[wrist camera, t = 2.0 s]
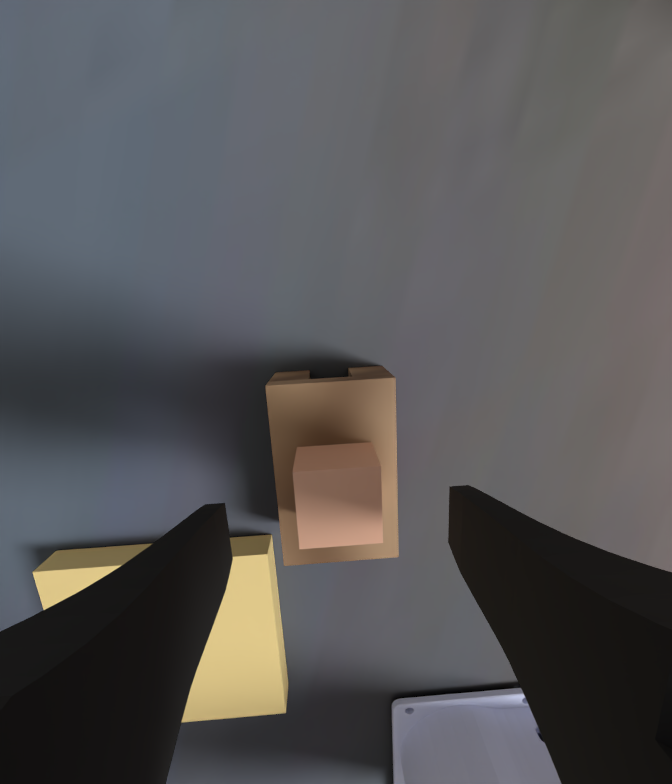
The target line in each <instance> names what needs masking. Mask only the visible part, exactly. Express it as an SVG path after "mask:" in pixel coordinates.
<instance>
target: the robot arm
mask: <svg viewBox="0 0 672 784" xmlns="http://www.w3.org/2000/svg"><path fill="white" fill-rule="evenodd" d="M448 542H449V545H450V548H451V550H452V553H453V555H454V558H455V560H456V563H457V565H458V568H459V570H460V572H461V574H462V576H463V578H464V580H465V582H466V583H467V585H468V587H469V589H470V591H471V593H472V594H473V596H474V598H475V600H476V602H477V603H478V605H479V607H480V609H481V610H482V612H483V614H484V616H485V618H486V619H487V621H488V623H489V625H490V627H491V628H492V630H493V632H494V634H495V635H496V637H497V639H498V641H499V643H500V645H501V646H502V648H503V650H504V652H505V654H506V656H507V658H508V660H509V662H510V664H511V667H512V669H513V671H514V673H515V676H516V678H517V680H518V682H519V685H520V687H521V688H512V689H500V690H489V691H478V692H467V693H455V694H444V695H433V696H422V697H410V698H399V699H396V700H395V701H394V702H393V703H392V745H393V784H672V572H668V571H665V570H661V569H658V568H655V567H652V566H649V565H646V564H643V563H640V562H637V561H634V560H631V559H627V558H624V557H621V556H619V555H616V554H613V553H610V552H608V551H605V550H602V549H600V548H597V547H595V546H592V545H590V544H587V543H585V542H582V541H580V540H577V539H575V538H573V537H570V536H568V535H566V534H563V533H561V532H559V531H557V530H555V529H553V528H551V527H549V526H546V525H544V524H542V523H540V522H538V521H536V520H534V519H532V518H530V517H528V516H526V515H524V514H522V513H521V512H519V511H517V510H515V509H513V508H511V507H509V506H508V505H506V504H504V503H502V502H500V501H498V500H496V499H495V498H493V497H491V496H489V495H487V494H485V493H483V492H482V491H480V490H478V489H476V488H474V487H471V486H469V485H466V486H452V487H450V495H449V538H448ZM232 561H233V556H232V549H231V542H230V535H229V529H228V522H227V515H226V508H225V503H219V504H205V505H204V506H202V507H201V508H199V509H198V510H197V511H195V512H194V513H192V514H191V515H190V516H189V517H187V518H186V519H185V520H183V521H182V522H181V523H179V524H178V525H177V526H176V527H174V528H173V529H172V530H170V531H169V532H168V533H166V534H165V535H164V536H162V537H161V538H160V539H158V540H157V541H156V542H154V543H153V544H152V545H150V546H149V547H147V548H146V549H144V550H143V551H142V552H140V553H139V554H137V555H136V556H135V557H133V558H132V559H130V560H129V561H127V562H126V563H125V564H123V565H122V566H120V567H119V568H117V569H115V570H114V571H112V572H111V573H109V574H108V575H106V576H104V577H103V578H101V579H99V580H98V581H96V582H94V583H93V584H91V585H89V586H88V587H86V588H84V589H83V590H81V591H79V592H77V593H76V594H74V595H72V596H70V597H68V598H66V599H64V600H62V601H60V602H59V603H57V604H55V605H53V606H51V607H49V608H47V609H45V610H43V611H41V612H40V613H38V614H36V615H34V616H32V617H30V618H28V619H26V620H24V621H22V622H20V623H17V624H15V625H13V626H11V627H9V628H7V629H5V630H3V631H1V632H0V784H166V780H167V776H168V772H169V768H170V764H171V760H172V756H173V752H174V749H175V745H176V741H177V737H178V733H179V729H180V726H181V722H182V718H183V715H184V711H185V707H186V704H187V700H188V696H189V693H190V689H191V686H192V683H193V680H194V677H195V674H196V671H197V668H198V665H199V662H200V660H201V657H202V654H203V652H204V649H205V646H206V643H207V641H208V638H209V635H210V633H211V630H212V627H213V624H214V622H215V619H216V616H217V614H218V611H219V608H220V605H221V602H222V600H223V597H224V594H225V591H226V587H227V583H228V579H229V575H230V570H231V565H232Z"/></svg>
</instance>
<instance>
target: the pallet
mask: <svg viewBox="0 0 672 784" xmlns="http://www.w3.org/2000/svg"><path fill="white" fill-rule="evenodd" d="M348 376H349V377H336V378H320V379H310V370H306V371H290V372H275V374H274V375H273V376H272V378H271V379H270V380H269V382H268V383H267V384H266V386H265V388H266V398H267V407H268V417H269V427H270V436H271V446H272V455H273V465H274V474H275V484H276V493H277V503H278V512H279V522H280V532H281V541H282V551H283V560H284V566H289V565H302V564H315V563H328V562H341V561H354V560H367V559H380V558H393V557H398V499H397V439H396V380H395V377H394V376H393V375H392V374H391V373H390V372H388V371H387V370H386V369H385V368H384V367H383V366H371V367H354V368H348ZM365 442H372V444H373V446H374V449H375V452H376V454H377V457H378V459H379V462H380V465H381V483H382V519H383V543H377V544H364V545H351V546H338V547H325V548H311V549H299V538H298V527H297V516H296V505H295V494H294V483H293V466H294V461H295V455H296V450H297V447H306V446H321V445H336V444H351V443H365Z"/></svg>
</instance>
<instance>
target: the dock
mask: <svg viewBox="0 0 672 784" xmlns="http://www.w3.org/2000/svg"><path fill="white" fill-rule="evenodd" d="M230 542H231V549H232V556H233V561H232V565H231V570H230V575H229V579H228V583H227V587H226V591H225V594H224V597H223V600H222V602H221V605H220V608H219V611H218V614H217V616H216V619H215V622H214V624H213V627H212V630H211V633H210V635H209V638H208V641H207V643H206V646H205V649H204V652H203V654H202V657H201V660H200V662H199V665H198V668H197V671H196V674H195V677H194V680H193V683H192V686H191V689H190V693H189V696H188V700H187V704H186V707H185V711H184V715H183V718H182V722H192V721H203V720H215V719H226V718H237V717H248V716H259V715H271V714H282V713H286V707H287V695H288V675H287V666H286V657H285V648H284V640H283V631H282V622H281V613H280V604H279V595H278V586H277V577H276V568H275V559H274V550H273V541H272V535H259V536H245V537H232V538H230ZM152 544H153V543H152ZM152 544H138V545H125V546H112V547H98V548H85V549H72V550H58V551H55V552H54V553H53V554H52V555H51V556H50V557H49V558H48V559H47V560H45V561H44V562H43V563H42V564H41V565H40V566H39V567H38V568H37V569H35V570H34V571H33V576H34V579H35V582H36V586H37V589H38V592H39V596H40V599H41V602H42V606H43V609H44V610H45V609H47V608H49V607H51V606H53V605H55V604H57V603H59V602H60V601H62V600H64V599H66V598H68V597H70V596H72V595H74V594H76V593H77V592H79V591H81V590H83V589H84V588H86V587H88V586H89V585H91V584H93V583H94V582H96V581H98V580H99V579H101V578H103V577H104V576H106V575H108V574H109V573H111V572H112V571H114V570H115V569H117V568H119V567H120V566H122V565H123V564H125V563H126V562H127V561H129V560H130V559H132V558H133V557H135V556H136V555H137V554H139V553H140V552H142V551H143V550H144V549H146V548H147V547H149V546H150V545H152Z"/></svg>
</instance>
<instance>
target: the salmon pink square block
mask: <svg viewBox="0 0 672 784" xmlns="http://www.w3.org/2000/svg"><path fill="white" fill-rule="evenodd" d="M293 483H294V494H295V505H296V516H297V527H298V538H299V549H311V548H325V547H338V546H351V545H364V544H377V543H383V519H382V483H381V465H380V462H379V459H378V457H377V454H376V452H375V449H374V446H373V444H372V442H365V443H351V444H336V445H321V446H306V447H297V450H296V455H295V461H294V466H293Z"/></svg>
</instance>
